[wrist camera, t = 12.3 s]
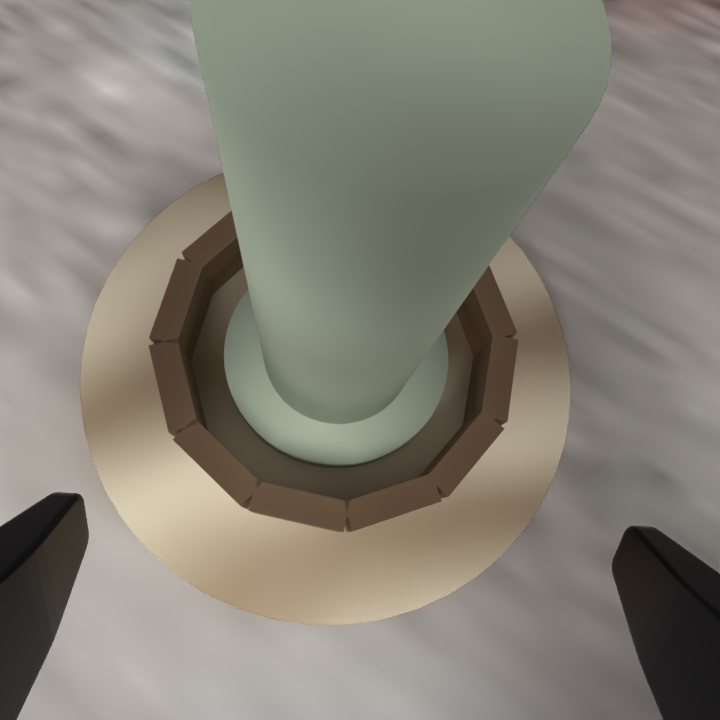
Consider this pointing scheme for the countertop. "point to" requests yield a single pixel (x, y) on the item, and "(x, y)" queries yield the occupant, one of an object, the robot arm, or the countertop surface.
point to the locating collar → (299, 480)
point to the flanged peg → (378, 191)
